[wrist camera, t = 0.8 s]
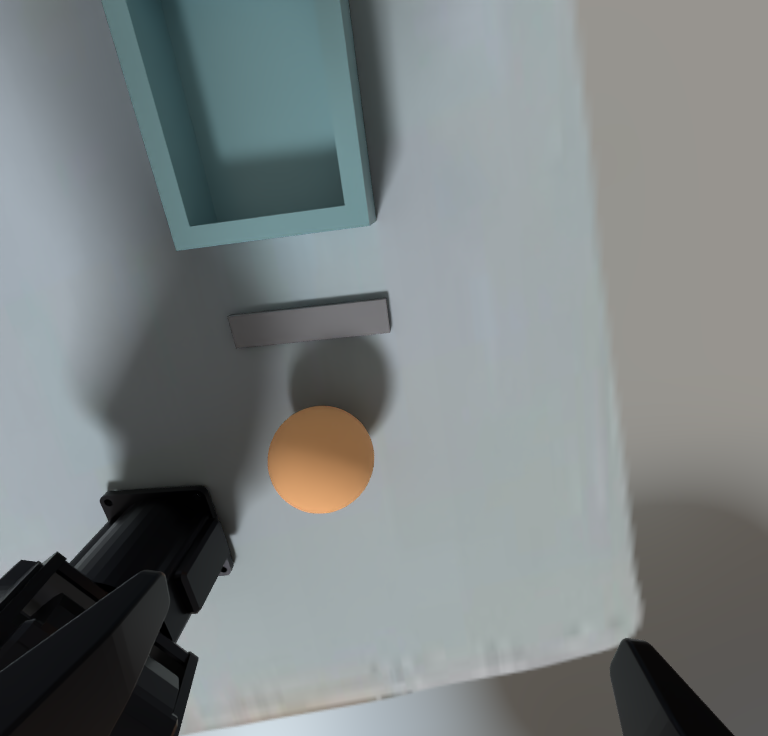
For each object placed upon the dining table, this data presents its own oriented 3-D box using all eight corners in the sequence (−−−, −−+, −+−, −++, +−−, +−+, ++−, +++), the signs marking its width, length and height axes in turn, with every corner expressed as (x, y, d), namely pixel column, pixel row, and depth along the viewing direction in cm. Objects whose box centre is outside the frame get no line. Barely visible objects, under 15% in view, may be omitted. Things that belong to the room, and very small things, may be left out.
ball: (295, 473, 24) (266, 540, 19) (275, 392, 22) (238, 446, 17) (383, 467, 23) (376, 535, 19) (371, 384, 21) (359, 437, 17)
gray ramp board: (238, 346, 21) (236, 348, 21) (230, 315, 21) (227, 316, 20) (390, 330, 20) (389, 332, 20) (386, 297, 20) (385, 299, 19)
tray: (210, 242, 19) (176, 250, 16) (138, -26, 16) (79, -72, 13) (376, 220, 18) (369, 225, 16) (339, -68, 15) (323, -127, 12)
